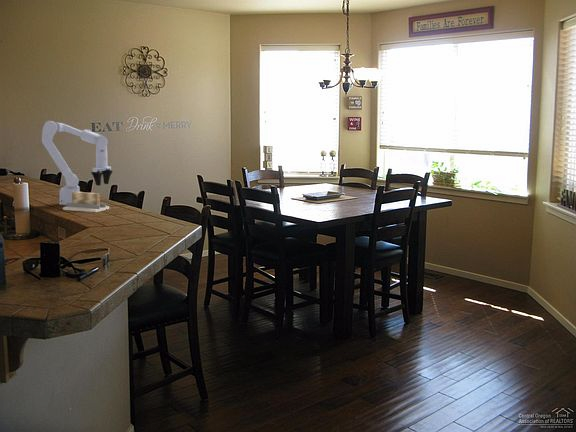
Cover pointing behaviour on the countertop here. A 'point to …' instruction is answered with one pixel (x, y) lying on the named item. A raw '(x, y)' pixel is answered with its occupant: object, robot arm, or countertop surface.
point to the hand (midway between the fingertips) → (102, 184)
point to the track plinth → (85, 207)
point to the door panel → (86, 198)
